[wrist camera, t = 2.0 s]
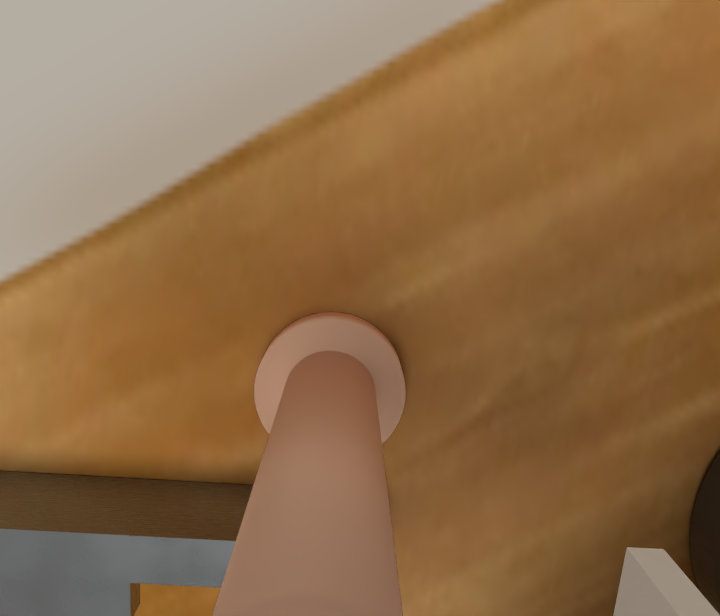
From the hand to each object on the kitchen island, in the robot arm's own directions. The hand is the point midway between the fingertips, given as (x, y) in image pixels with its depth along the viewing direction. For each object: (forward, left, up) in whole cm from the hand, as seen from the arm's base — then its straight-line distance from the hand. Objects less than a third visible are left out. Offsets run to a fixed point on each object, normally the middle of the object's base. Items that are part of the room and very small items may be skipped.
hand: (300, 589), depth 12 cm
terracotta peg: (0, 0, -13) cm, 13 cm away
